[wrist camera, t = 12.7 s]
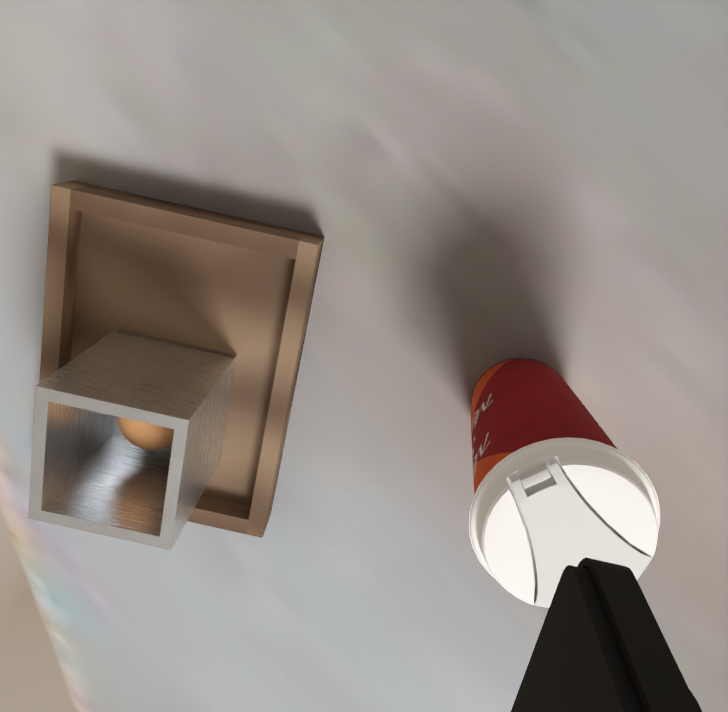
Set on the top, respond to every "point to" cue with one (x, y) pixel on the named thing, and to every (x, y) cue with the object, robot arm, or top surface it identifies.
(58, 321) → the walnut tray
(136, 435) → the mixing ball
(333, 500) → the top surface
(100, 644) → the top surface
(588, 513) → the paper cup
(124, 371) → the square metal container
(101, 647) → the top surface
